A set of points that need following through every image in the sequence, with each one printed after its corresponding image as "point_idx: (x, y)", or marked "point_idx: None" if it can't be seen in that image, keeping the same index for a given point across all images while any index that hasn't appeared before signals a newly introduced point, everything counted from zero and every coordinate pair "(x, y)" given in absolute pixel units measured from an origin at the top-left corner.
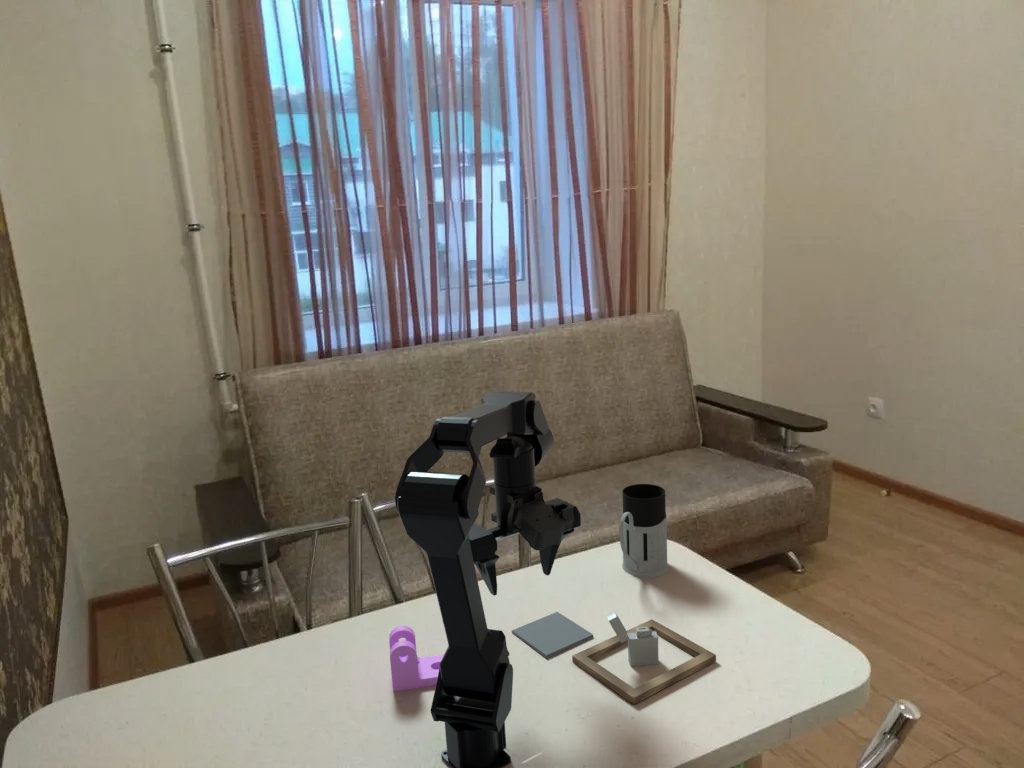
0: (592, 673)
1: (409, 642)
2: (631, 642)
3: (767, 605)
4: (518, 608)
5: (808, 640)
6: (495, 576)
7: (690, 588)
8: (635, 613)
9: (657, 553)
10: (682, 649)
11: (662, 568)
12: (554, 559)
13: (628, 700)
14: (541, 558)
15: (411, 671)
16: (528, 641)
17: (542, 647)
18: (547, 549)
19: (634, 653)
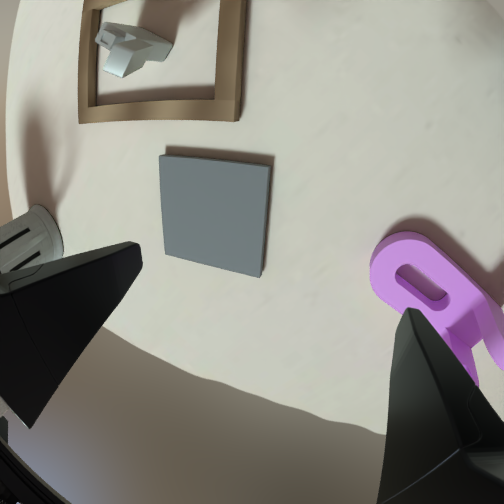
0: (240, 59)
1: (496, 357)
2: (140, 37)
3: (8, 84)
4: (204, 311)
5: (26, 9)
6: (443, 378)
7: (29, 164)
8: (86, 165)
9: (14, 223)
10: (96, 43)
11: (28, 212)
12: (69, 256)
13: None
14: (106, 309)
15: (494, 312)
16: (261, 229)
17: (255, 193)
18: (53, 307)
19: (152, 38)
